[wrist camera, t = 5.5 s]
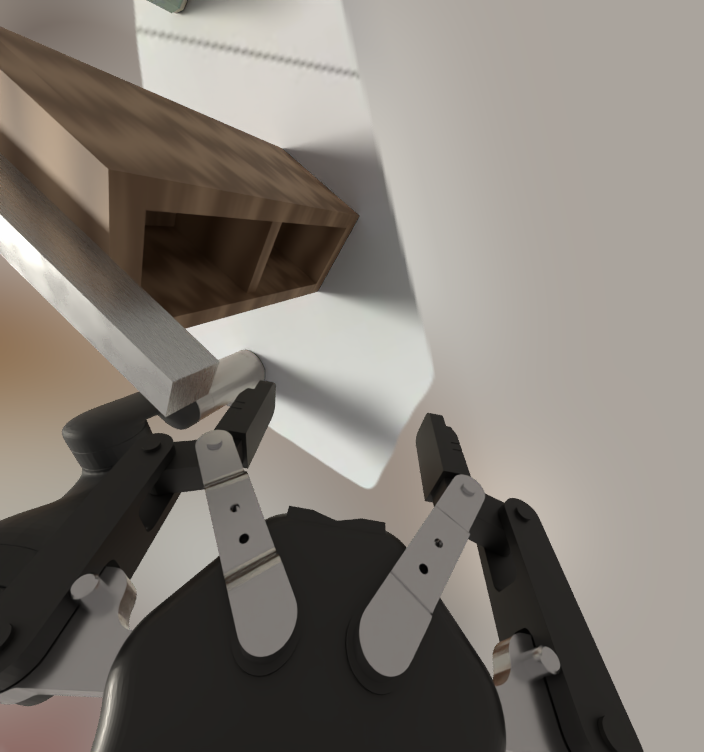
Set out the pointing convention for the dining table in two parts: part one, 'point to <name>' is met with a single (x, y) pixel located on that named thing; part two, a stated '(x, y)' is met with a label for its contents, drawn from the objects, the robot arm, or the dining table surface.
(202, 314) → the walnut shelf
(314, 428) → the dining table surface
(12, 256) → the metal bar
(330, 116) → the dining table surface
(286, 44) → the dining table surface
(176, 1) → the disposable coffee cup
